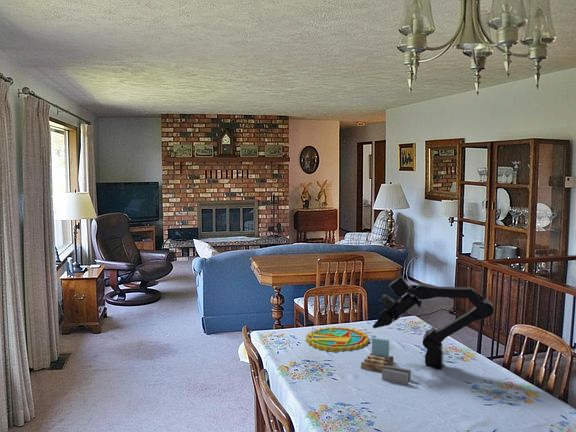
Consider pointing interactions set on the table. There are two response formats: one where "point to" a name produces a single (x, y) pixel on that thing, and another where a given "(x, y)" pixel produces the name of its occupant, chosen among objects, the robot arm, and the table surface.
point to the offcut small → (377, 362)
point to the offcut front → (377, 358)
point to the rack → (375, 367)
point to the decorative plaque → (336, 339)
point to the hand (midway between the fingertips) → (376, 325)
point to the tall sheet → (380, 347)
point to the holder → (396, 374)
